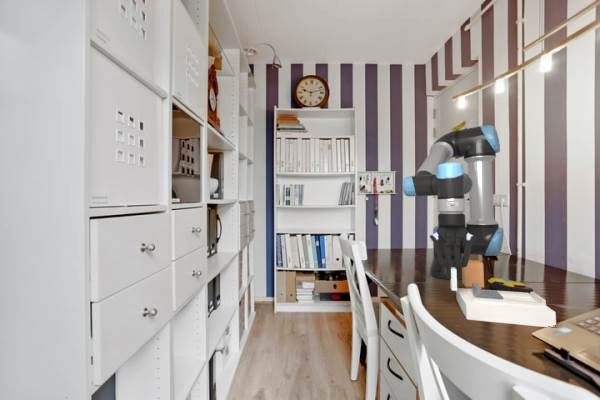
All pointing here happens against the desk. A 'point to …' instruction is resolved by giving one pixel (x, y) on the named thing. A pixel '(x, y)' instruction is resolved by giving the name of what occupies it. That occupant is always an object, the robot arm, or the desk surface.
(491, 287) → the gadget
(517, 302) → the socket
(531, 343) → the desk surface
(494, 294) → the shutter
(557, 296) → the desk surface
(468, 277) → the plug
